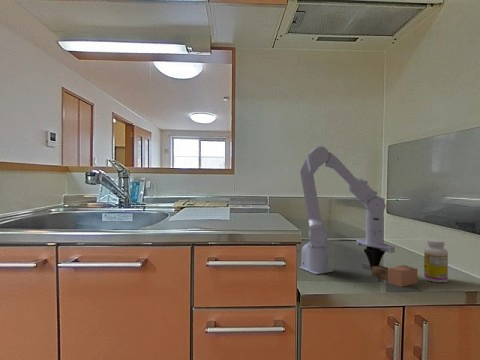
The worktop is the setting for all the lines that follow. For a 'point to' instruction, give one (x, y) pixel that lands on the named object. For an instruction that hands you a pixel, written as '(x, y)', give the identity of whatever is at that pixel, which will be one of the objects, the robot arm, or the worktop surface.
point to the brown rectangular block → (380, 272)
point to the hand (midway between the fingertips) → (374, 269)
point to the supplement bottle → (436, 261)
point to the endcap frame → (399, 275)
